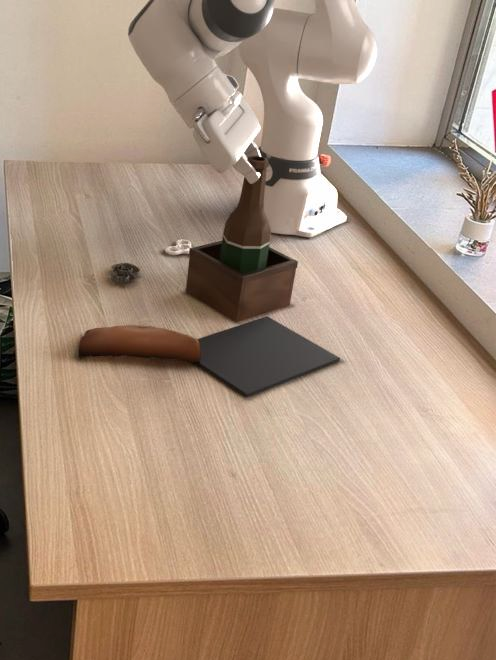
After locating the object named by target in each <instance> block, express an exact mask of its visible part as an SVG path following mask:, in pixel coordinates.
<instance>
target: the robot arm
mask: <svg viewBox="0 0 496 660" xmlns="http://www.w3.org/2000/svg"><path fill="white" fill-rule="evenodd" d="M314 3H315V10H314V13H307V12H304V11H303V12H302V11H295V10H290V9H284V8H278V7H277V8H275V0H148V1H147V2H146V4H145V5H144V6H143V7H142V8H141V9H140V11H139V12H138V13H137V14H136V16H135V17H134V18H133V19H132V20H131V22H130V24H129V26H128V30H127V36H128V40H129V43H130V45H131V47H132V48H133V50H134V52H135V54H136V56H137V57H138V59H139V60H140V62H141V64H142V65H143V67H144V68H145V70H146V71H147V72H148V74H149V75H150V77H151V78H152V79H153V80H154V82H156V83H157V84H158V85H160V87H161V88H162V89H163V90H164V91H165V93H166V95H167V99H168V101H169V103H170V104H171V105H172V107H173V108H174V109H175V111H176V112H177V114H178V115H179V116H180V118H181V119H182V120H183V122H184V123H185V125H186V126H187V127H188V128H189V129H192V128H193V130H192V136H193V139H194V141H195V142H196V144H197V146H198V148H199V149H200V151H201V152H202V154H203V156H204V157H205V159H206V160H207V161H208V163H209V164H210V166H211V167H212V169H213V170H214V171H215V172H217V173H218V174H219V175H220V174H223V173H225V172H227V171H228V170H229V169H230V168H232V167H233V169H234V170H235V171H236V172H238V173H239V174H240V175H242V176H243V178H244V177H245V178H246V179H247V181H248V182H249V183H250V184H253V183H254V182H256V181H257V180H258V179H259V177H260V173H259V172H258V170H257V169H256V167H253V166H252V165H251V164H250V163H249V162H248V161H247V158H248V157H250V156H261V157H265V158H266V159H267V160H268V162H269V167H268V168H267V170H266V182H265V193H264V211H265V213H266V216H267V218H268V220H269V224H270V229H271V234H278V235H279V234H280V235H288V236H289V235H292V236H297V237H298V236H299V237H303V238H314V237H315V236H317V235H320V234H322V233H324V232H326V231H328V230H330V229H332V228H335V227H336V226H339V225H341V224H343V223H345V222H347V215H346V214H345V213H344V212H343V211H342V210H340V209H339V208H338V207H337V206H338V197H339V195H338V190H337V189H336V187H335V186H334V185H333V184H332V183H331V182H330V181H329V180H328V179H327V178H326V177H325V176H324V175H323V174H322V173H321V165H322V166H324V167H329V166H330V164H331V162H332V158H331V156H330V155H326V154H325V153H320V154H318V151H319V145H320V139H321V135H322V129H323V123H324V118H323V117H324V116H323V112H322V111H321V108H320V107H319V106H318V104H317V103H316V102H314V101H313V100H312V99H311V98H310V97H308V96H307V95H306V94H305V93H304V92H303V90H302V88H301V86H300V84H299V79H303V80H309V81H314V82H320V83H325V84H331V85H351V84H352V85H354V84H359V83H360V82H362V81H363V80H365V78H367V77H368V75H369V74H370V73H371V71H372V69H373V68H374V65H375V63H376V60H377V54H378V48H377V47H378V45H377V40H376V38H375V35H374V33H373V31H372V29H371V28H370V27H369V26H368V24H367V23H366V22H365V20H364V19H363V17H362V15H361V13H360V11H359V9H358V7H357V3H356V1H355V0H314ZM235 48H236V49H237V53H238V55H239V59H240V60H241V61H242V63H243V64H244V65H245V66H246V67H247V68H248V70H249V71H250V72H251V73H252V76H253V77H254V78H255V80H256V82H257V85H258V87H259V89H260V93H261V96H262V102H263V124H262V135H261V141H260V145H259V147H258V144H256V141H254V139H255V138H256V136H257V135H258V134H259V133H260V131H261V125H260V122H259V119H258V117H257V116H256V114H255V112H254V111H253V109H252V107H251V106H250V104H249V102H248V101H247V100H246V98H245V97H244V95H243V94H242V93H241V91H239V90H238V89H239V88H240V84H239V83H238V81H237V80H236V78H235V77H234V76H233V75H231V74H226V73H224V72H223V71H222V69H221V68H220V67H219V66H218V64H217V62H216V59H217V58H220V57H223V56H225V55H227V54H228V53H230V52H231V51H233V50H234V49H235Z"/></svg>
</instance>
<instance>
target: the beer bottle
mask: <svg viewBox="0 0 496 660" xmlns="http://www.w3.org/2000/svg"><path fill="white" fill-rule="evenodd" d="M247 161H248V162H249V163H250V164H251V165H252V166H253V167H256V169H257V170H258V172H259V173H260V177H259V179H258V180H257V181H256V182H254V183H253V184H250V183H249V182H248V181H247V179H246V178H245V177H244V176H243V182H242V186H241V192H240V196H239V199H238V202H237V206H236V207H235V208H234V209H233V210H232V211H231V212H230V213H229V214H228V216H227V219H226V220H225V222H224V225H223V226H224V227H223V231H222V238H221V240H222V245H221V253H220V260H219V261H220V262H222V263H223V264H225V265H227V266H229V267H231V268H233V269H234V270H236V271H238V272H240V273H242V274H245V273H249V272H252V271H256V270H259V269H263V268H266V263H267V257H268V251H269V247H270V245H271V244H270V243H271V234H272V232H271V229H270V224H269V220H268V218H267V216H266V213H265V211H264V193H265V182H266V170H267V168H268V167H269V162H268V160H267V159H266V158H265V157H261V156H250V157H248V158H247Z"/></svg>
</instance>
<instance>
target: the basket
mask: <svg viewBox="0 0 496 660" xmlns="http://www.w3.org/2000/svg"><path fill="white" fill-rule="evenodd" d="M221 245H222V239H221V240H218V241H213V242H210V243H205V244H202V245H201V244H200V245H198V246H192V247H193V248H190V250H189V254H188V256H189V259H188V266H187V274H186V275H187V276H186V284H185V293H186V294H187V295H189V296H190V297H192V298H193V299H195V300H197V301H199V302H201V303H203V304H204V305H206V306H208V307H209V308H210V309H213V310H214V311H215V312H218V313H219V314H221V315H222V316H224V317H226V318H227V319H229V320H231V321H233V322H234V323H239V322H243V321H245V320H248V319H251V318H254V317H257V316H261V315H263V314H266V313H269V312H273V311H277V310H279V309H282V308H285V307H288V306H290V305H291V299H292V295H293V289H294V284H295V277H296V272H297V269H298V264H299V261H298V260H296V259H294V258H292V257H290V256H288V255H286V254H285V253H282V252H280V251H278V250H276V249H274V248H272V247H271V246H269V251H268V257H267V263H266V268H263V269H259V270H256V271H252V272H249V273H245V274H242V273H240V272H238V271H236V270H234V269H233V268H231V267H229V266H227V265H225V264H223V263H222V262H220V261H219V260H220V253H221Z"/></svg>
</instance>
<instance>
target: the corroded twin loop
mask: <svg viewBox="0 0 496 660" xmlns="http://www.w3.org/2000/svg"><path fill="white" fill-rule="evenodd" d="M110 268H111V269H112V271H111V272H108V276H109V277H110V280H111V281H112V282H113V283H114V284H117V285H121V286H123V285H128V284H132V283H134V282H135V280H136V279H137V276H138V275H139V272H140V271H141V269H140V268H139V267H138V266H136V265H135V264H132V263H129V262H119V263H115V264H112V265H111V266H110Z"/></svg>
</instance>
